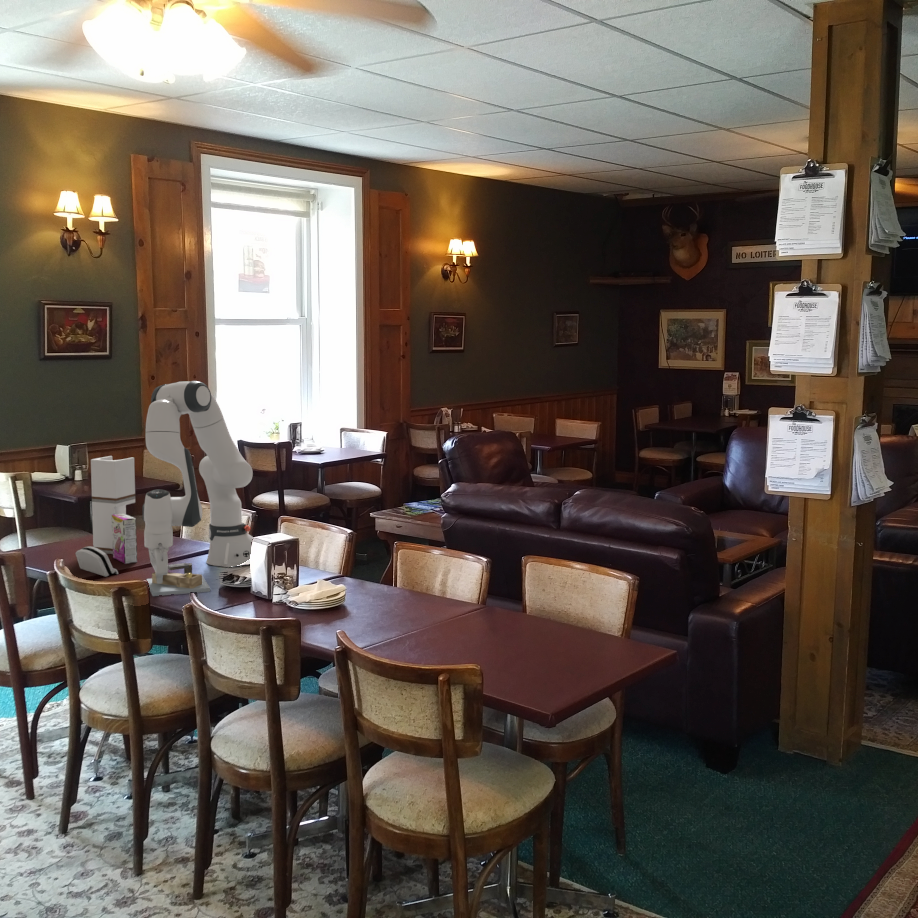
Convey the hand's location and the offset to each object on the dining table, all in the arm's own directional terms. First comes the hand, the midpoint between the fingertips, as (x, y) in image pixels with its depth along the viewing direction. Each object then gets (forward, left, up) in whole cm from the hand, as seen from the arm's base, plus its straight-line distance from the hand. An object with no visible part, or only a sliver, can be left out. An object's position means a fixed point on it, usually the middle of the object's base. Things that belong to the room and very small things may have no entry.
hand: (159, 582), depth 322 cm
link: (-5, 0, -1) cm, 5 cm away
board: (-6, -1, -2) cm, 6 cm away
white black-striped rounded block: (+18, -30, -3) cm, 35 cm away
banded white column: (+9, -62, -2) cm, 63 cm away
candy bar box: (+7, -44, -3) cm, 45 cm away
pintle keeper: (-7, -2, -2) cm, 8 cm away
